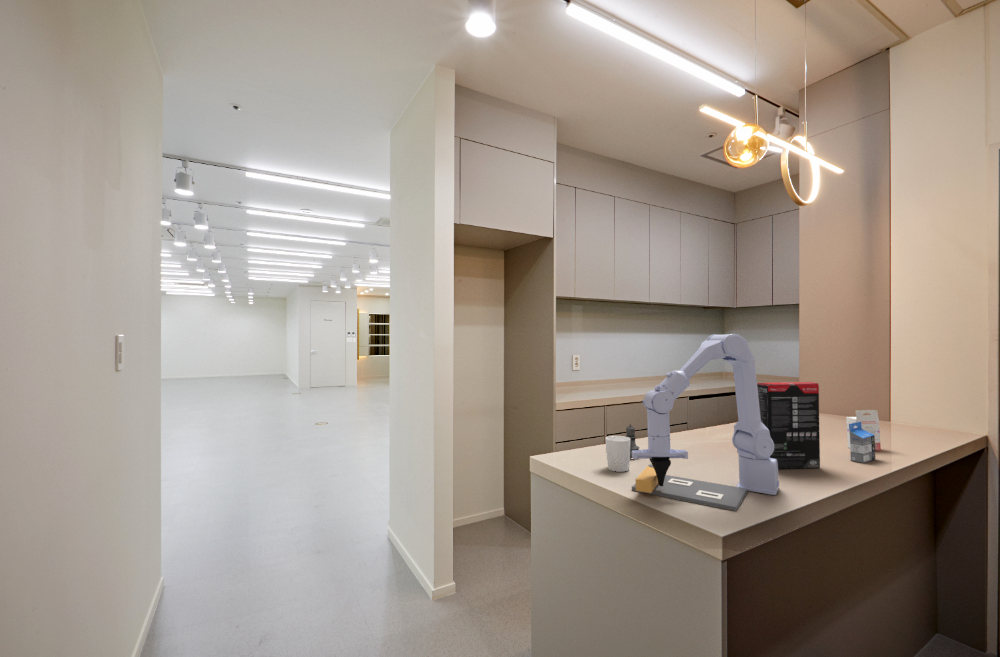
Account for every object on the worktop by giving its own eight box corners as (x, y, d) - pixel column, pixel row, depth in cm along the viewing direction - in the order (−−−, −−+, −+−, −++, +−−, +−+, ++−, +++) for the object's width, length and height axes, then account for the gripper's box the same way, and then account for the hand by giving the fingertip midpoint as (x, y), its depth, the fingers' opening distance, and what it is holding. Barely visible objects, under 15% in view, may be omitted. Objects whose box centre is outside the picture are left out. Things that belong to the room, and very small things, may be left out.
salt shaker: (637, 460, 151) (636, 425, 151) (620, 458, 154) (619, 424, 154) (641, 456, 156) (640, 422, 156) (625, 454, 159) (624, 421, 159)
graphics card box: (807, 463, 144) (804, 380, 145) (823, 469, 137) (819, 382, 138) (756, 464, 143) (753, 381, 144) (770, 470, 136) (767, 383, 137)
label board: (747, 492, 118) (747, 487, 118) (736, 511, 105) (735, 505, 105) (651, 475, 134) (651, 471, 134) (631, 490, 121) (631, 485, 121)
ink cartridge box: (869, 447, 162) (867, 407, 162) (881, 450, 157) (879, 410, 157) (846, 448, 162) (845, 408, 162) (857, 451, 157) (856, 410, 157)
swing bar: (651, 493, 114) (650, 481, 114) (635, 490, 116) (635, 479, 116) (664, 475, 129) (663, 465, 129) (650, 473, 131) (649, 463, 131)
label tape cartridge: (864, 463, 142) (862, 425, 142) (849, 461, 145) (848, 424, 145) (876, 459, 146) (874, 422, 146) (862, 457, 149) (860, 421, 150)
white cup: (622, 464, 146) (621, 434, 146) (636, 471, 139) (635, 439, 139) (601, 467, 144) (600, 436, 144) (615, 473, 136) (614, 441, 137)
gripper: (680, 431, 122) (682, 480, 121) (628, 432, 123) (630, 480, 122) (690, 437, 115) (692, 488, 114) (634, 437, 116) (636, 489, 115)
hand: (660, 485), depth 118 cm, fingers closed
